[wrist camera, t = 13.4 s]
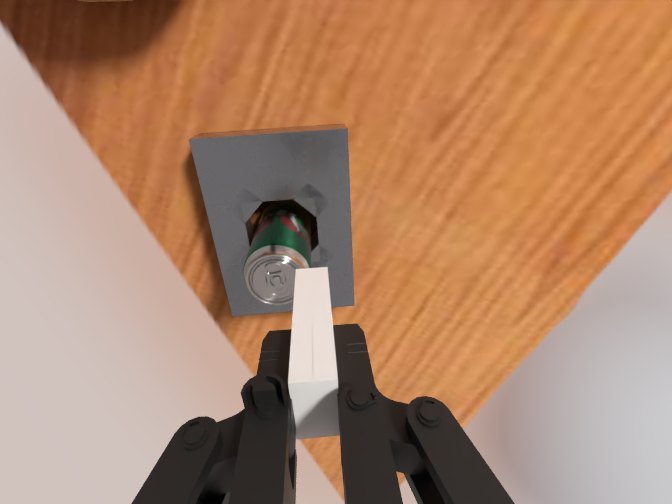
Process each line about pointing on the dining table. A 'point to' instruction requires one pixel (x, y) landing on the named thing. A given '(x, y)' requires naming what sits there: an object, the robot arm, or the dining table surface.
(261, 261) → the soda can
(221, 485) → the robot arm
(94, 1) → the potato
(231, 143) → the plate
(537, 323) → the dining table surface
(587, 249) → the dining table surface
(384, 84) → the dining table surface
